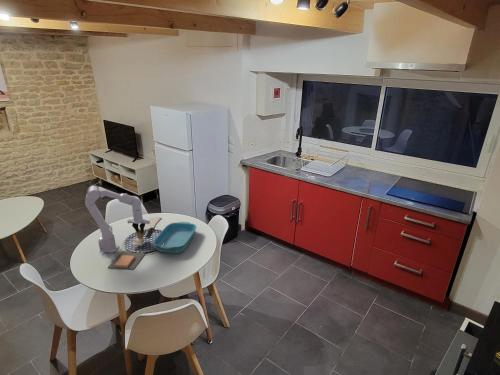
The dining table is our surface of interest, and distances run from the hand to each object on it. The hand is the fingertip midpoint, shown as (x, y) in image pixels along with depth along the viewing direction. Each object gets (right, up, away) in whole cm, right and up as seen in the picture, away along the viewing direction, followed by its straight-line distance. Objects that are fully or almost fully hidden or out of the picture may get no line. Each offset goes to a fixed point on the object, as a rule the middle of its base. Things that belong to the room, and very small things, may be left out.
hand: (140, 232), depth 212 cm
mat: (-2, -15, -17) cm, 22 cm away
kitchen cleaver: (-1, 0, +23) cm, 23 cm away
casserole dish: (+24, -7, +4) cm, 25 cm away
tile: (-2, -15, -20) cm, 25 cm away
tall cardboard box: (0, -4, 0) cm, 4 cm away
